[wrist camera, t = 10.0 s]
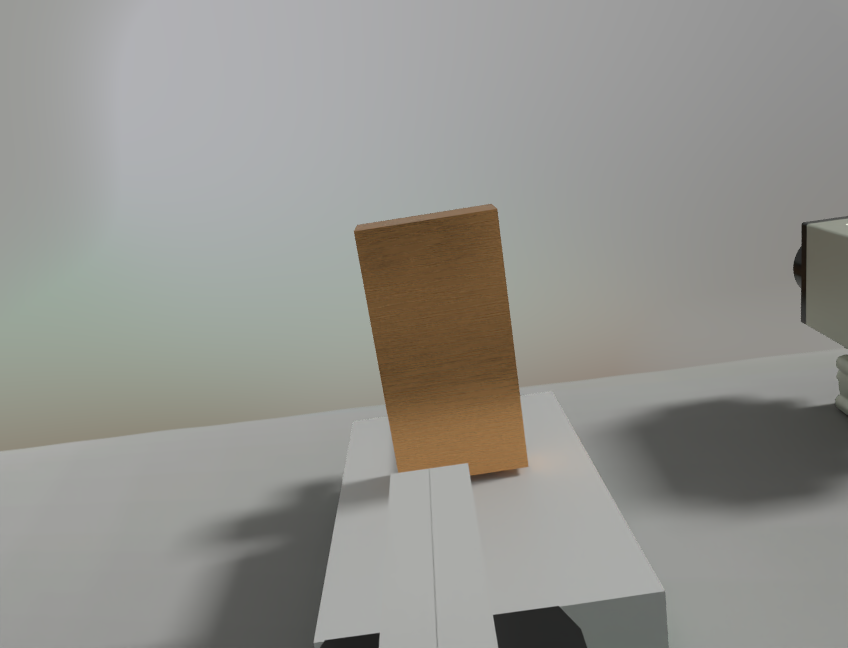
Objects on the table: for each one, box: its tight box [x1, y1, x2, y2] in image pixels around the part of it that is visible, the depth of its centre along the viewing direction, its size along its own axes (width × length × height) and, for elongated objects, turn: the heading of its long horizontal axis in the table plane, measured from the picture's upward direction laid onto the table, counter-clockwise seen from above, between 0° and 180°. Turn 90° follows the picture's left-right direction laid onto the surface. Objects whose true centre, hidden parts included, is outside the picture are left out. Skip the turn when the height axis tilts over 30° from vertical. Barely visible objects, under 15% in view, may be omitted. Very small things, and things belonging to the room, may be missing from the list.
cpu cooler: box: [313, 391, 669, 648], centre depth 27 cm, size 24×12×9 cm, turn 1°
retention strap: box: [354, 204, 529, 476], centre depth 31 cm, size 14×5×10 cm, turn 1°
